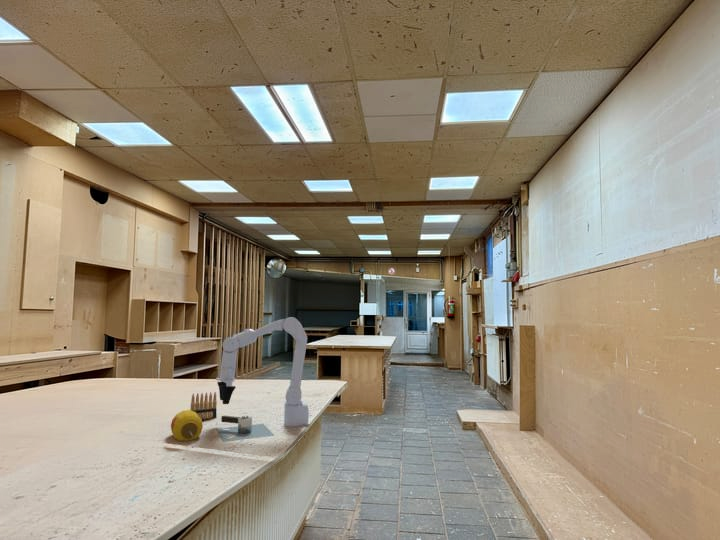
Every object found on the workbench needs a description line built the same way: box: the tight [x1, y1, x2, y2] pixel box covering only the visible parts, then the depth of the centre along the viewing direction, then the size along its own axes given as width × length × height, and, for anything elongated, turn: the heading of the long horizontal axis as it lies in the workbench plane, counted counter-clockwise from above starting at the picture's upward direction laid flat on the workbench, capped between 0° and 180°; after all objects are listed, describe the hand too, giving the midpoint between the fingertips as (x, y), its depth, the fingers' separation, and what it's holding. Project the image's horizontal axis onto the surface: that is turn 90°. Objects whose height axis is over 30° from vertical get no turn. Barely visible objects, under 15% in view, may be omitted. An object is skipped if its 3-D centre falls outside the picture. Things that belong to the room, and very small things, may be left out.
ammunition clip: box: [189, 391, 218, 423], centre depth 172 cm, size 11×2×12 cm, turn 119°
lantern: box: [170, 409, 203, 442], centre depth 146 cm, size 10×10×30 cm
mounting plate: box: [216, 423, 275, 443], centre depth 151 cm, size 18×18×1 cm
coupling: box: [220, 415, 253, 433], centre depth 153 cm, size 12×5×5 cm, turn 71°
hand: (224, 401), depth 161 cm, fingers open, 7 cm apart
